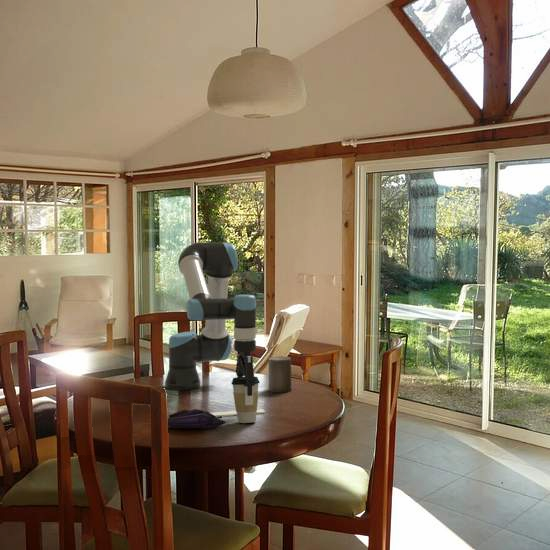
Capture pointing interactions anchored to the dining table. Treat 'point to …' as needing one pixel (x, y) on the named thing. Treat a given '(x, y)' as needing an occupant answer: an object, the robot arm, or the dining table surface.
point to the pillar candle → (279, 374)
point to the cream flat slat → (234, 413)
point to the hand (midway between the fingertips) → (244, 399)
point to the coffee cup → (244, 411)
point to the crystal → (194, 420)
